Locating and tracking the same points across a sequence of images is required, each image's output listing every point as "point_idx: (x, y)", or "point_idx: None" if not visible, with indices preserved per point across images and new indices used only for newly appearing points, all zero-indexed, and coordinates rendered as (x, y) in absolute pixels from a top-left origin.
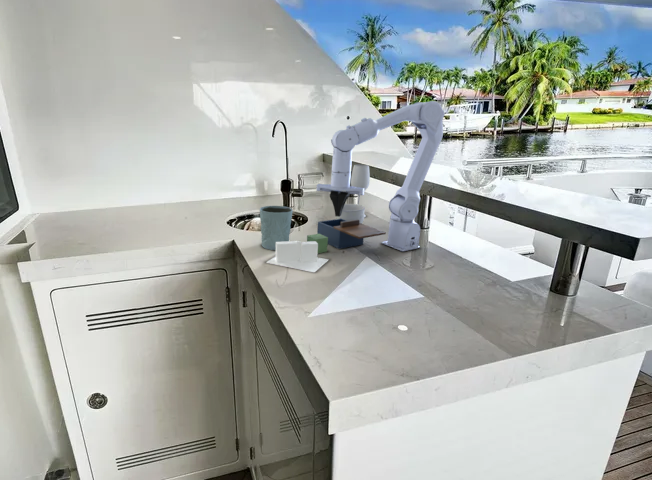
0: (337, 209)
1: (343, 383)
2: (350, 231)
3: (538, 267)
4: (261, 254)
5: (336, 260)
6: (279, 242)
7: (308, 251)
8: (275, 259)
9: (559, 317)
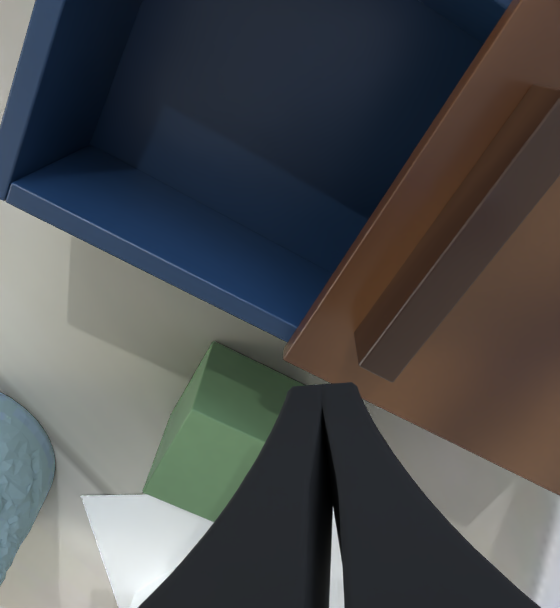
0: (328, 545)
1: None
2: (511, 431)
3: None
4: (29, 571)
5: (420, 481)
6: None
7: None
8: (133, 591)
9: None
